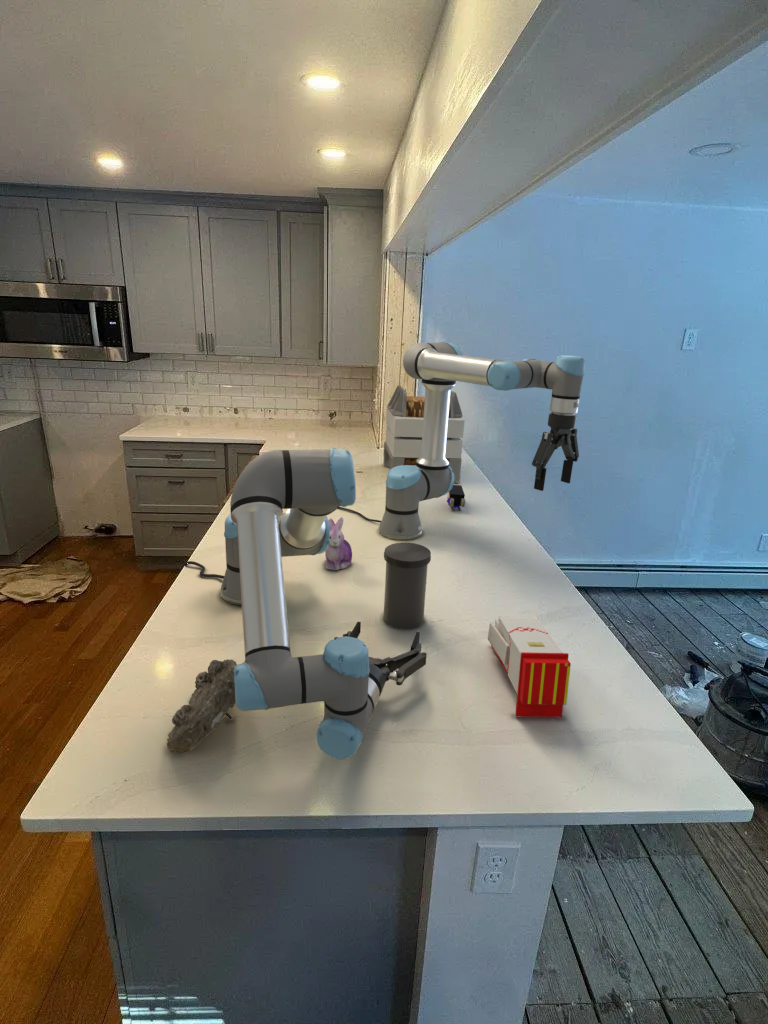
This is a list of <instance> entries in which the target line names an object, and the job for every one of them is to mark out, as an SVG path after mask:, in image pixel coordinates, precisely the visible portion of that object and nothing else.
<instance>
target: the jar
mask: <svg viewBox="0 0 768 1024" xmlns="http://www.w3.org/2000/svg"><path fill="white" fill-rule="evenodd" d="M428 566H429V564H427V565H426V566H423V567H420V568H400V567H396V566H393V565H391V564H389V563H387V562H386V561H385V580H384V581H385V582H384V602H383V620H384V622H385V623H386V624H387V625H388V626H389V627H392V628H396V629H398V630H399V629H401V630H411V629H416V628H418V627H420V626H421V625H422V624H423V623H424V620H425V619H424V616H425V606H426V605H425V604H426V590H427V578H428Z"/></svg>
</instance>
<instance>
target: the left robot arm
mask: <svg viewBox="0 0 768 1024" xmlns="http://www.w3.org/2000/svg"><path fill="white" fill-rule="evenodd" d="M234 484H235V485H234V487H233V489H232V493H231V497H230V502H229V503H230V504H229V505H230V507H229V509H230V514H229V515H227V517H226V518H225V520H224V533H223V537H224V539H225V543H224V544H225V561H226V569H225V572H224V575H222V574H216V573H205V571H206V567H205V566H204V565H203V564H201V563H199V562H198V561H197V562H196V561H192V560H188V561H186V562H184V563H183V567H184V566H185V567H186V566H188V565H194V566H197V567H198V568H200V569H201V570H200V571H199V576H200V577H202V578H216V579H222V582H221V586H220V596H221V598H222V599H223V601H224V602H226V603H228V604H231V605H236V606H241V614H242V630H243V631H242V632H243V633H242V634H243V645H244V646H243V647H244V662H242V663H238V664H237V665H236V666H235V667H234V682H235V701H236V703H235V707H236V708H237V709H238V711H241V712H250V711H263V710H264V711H268V710H271V709H276V708H277V709H278V708H284V707H289V706H298V705H303V704H305V705H307V704H312V703H320V702H323V718H322V720H321V721H320V722H319V724H318V728H317V730H316V734H315V740H316V743H317V746H318V748H319V749H320V750H321V751H322V753H324V754H325V755H326V756H327V757H330V758H333V759H336V760H337V759H338V760H345V759H349V758H351V757H353V756H354V755H355V754H356V753H357V751H358V749H359V747H360V746H361V744H362V742H363V741H364V736H365V735H366V731H367V729H368V726H369V723H370V722H371V719H372V716H373V713H374V711H375V708H376V707H377V704H378V702H379V699H380V697H381V695H382V693H383V691H384V687H385V685H386V683H387V682H388V681H390V680H391V681H394V682H395V684H396V685H397V686H402V685H403V683H404V682H405V681H406V679H408V678H409V677H410V676H412V675H414V674H415V673H416V672H418V671H419V670H421V669H423V667H425V666H426V664H427V655H428V653H427V652H425V651H423V652H422V643H421V642H420V636H421V631H416V632H415V634H414V637H413V640H412V643H411V644H410V650H409V651H406V652H404V653H401V654H398V655H395V656H393V657H390V656H388V657H385V658H378V657H372V656H370V653H369V648H368V647H367V645H366V643H365V642H364V641H362V640H361V639H359V636H360V634H361V633H362V632H361V630H362V629H361V627H362V623H361V621H357V622H356V623H355V625H354V627H353V628H352V630H348V631H347V632H346V633H342V636H335V637H334V636H333V639H331V640H329V641H328V642H327V643H326V644H325V646H324V651H323V653H322V654H313V655H305V656H296V657H292V651H291V642H290V631H289V622H288V610H287V600H286V599H287V598H286V590H285V589H286V588H285V578H284V577H285V576H284V570H283V569H284V568H283V558H285V557H301V556H316V555H320V554H321V555H322V554H324V553H325V551H326V549H327V547H328V544H329V543H328V541H329V538H330V528H329V518H328V516H329V515H331V514H332V513H334V512H335V511H336V510H338V509H339V508H338V507H343V508H346V507H351V506H353V505H354V504H355V503H356V497H357V491H356V490H357V489H356V486H357V485H356V475H355V466H354V459H353V456H352V453H351V452H350V450H348V449H346V448H336V447H331V448H330V449H327V448H326V449H273V450H268V451H265V452H263V453H261V454H259V455H258V456H256V457H255V458H253V459H252V460H251V461H250V462H249V463H248V464H247V465H246V466H245V467H244V469H242V472H241V473H240V474H239V476H238V478H237V479H236V481H235V483H234ZM284 510H286V511H285V512H283V511H284ZM187 563H188V564H187Z"/></svg>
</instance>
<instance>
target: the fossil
mask: <svg viewBox="0 0 768 1024" xmlns="http://www.w3.org/2000/svg"><path fill="white" fill-rule="evenodd" d="M236 665H238V664H237V662H236V661H235V660H234V659H232V658H231V659H227V658H226V659H224V660H223V661H222V660H217V659H212V660H211V661H210V663H209V665H208V666H207V671H201V672H199V673H198V674H197V675H196V676H195V680H194V684H195V685H194V687H195V689H194V690H193V693H192V694H191V697H190V698H189V700H188V704H184V705H182V706H181V707H180V709H177V710H176V711H175V713H174V715H173V716H172V718H171V723H172V724H173V727H172V730H171V731H170V732H168V734H167V738H166V741H167V742H166V745H167V749H168V750H169V751H173V752H174V753H176V754H178V753H182V752H188V751H189V752H192V751H193V750H195V748H196V747H197V746H199V744H200V743H201V742H203V741H204V740H205V739H206V738H207V737H208V736H209V735H210V734H211V733H212V732H214V730H215V729H217V727H218V726H219V724H220V722H221V721H222V720H223V719H224V718H225V716H226V717H227V719H229V720H233V717H232V715H230V714H229V710H230V709H231V708H234V706H235V705H236V701H235V682H234V667H235V666H236Z"/></svg>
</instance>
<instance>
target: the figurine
mask: <svg viewBox="0 0 768 1024" xmlns="http://www.w3.org/2000/svg"><path fill="white" fill-rule="evenodd" d="M328 521H329V528H330V538H329V541H328V543H329V544H328V547H327V549H326V551H325V552H324V553H325V562H324V564H325V568H326V569H327V570H330V571H338V570H344V569H346V568H348V567H350V565H352V559H353V550H352V546H351V544H350V542H349V541H347V539H345V535H344V533H343V530H342V528H343V525H344V517H340V518H339V519H338V520H337V521H336V523H335V521H334V519H333V518H332V517H330V518H328Z"/></svg>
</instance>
